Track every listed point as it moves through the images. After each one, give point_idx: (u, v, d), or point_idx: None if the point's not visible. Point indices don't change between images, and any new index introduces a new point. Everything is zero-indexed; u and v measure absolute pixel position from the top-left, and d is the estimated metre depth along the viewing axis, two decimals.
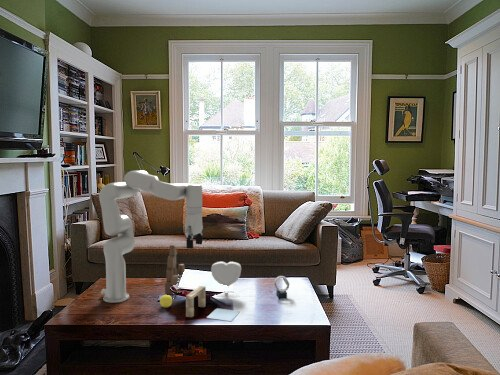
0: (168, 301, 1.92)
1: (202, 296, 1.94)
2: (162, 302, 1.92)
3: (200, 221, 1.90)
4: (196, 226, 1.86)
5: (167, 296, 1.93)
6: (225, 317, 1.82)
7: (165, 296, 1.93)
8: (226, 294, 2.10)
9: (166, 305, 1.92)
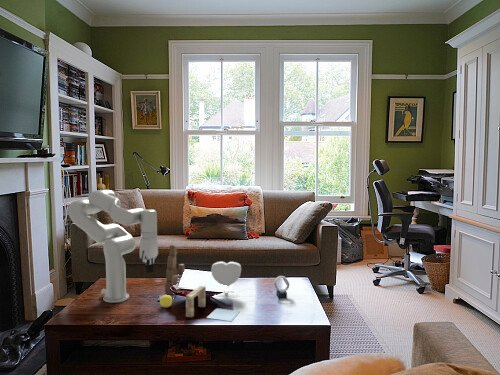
0: (168, 301, 1.92)
1: (202, 296, 1.94)
2: (162, 302, 1.92)
3: (155, 245, 1.96)
4: (150, 251, 1.92)
5: (167, 296, 1.93)
6: (225, 317, 1.82)
7: (165, 296, 1.93)
8: (226, 294, 2.10)
9: (166, 305, 1.92)
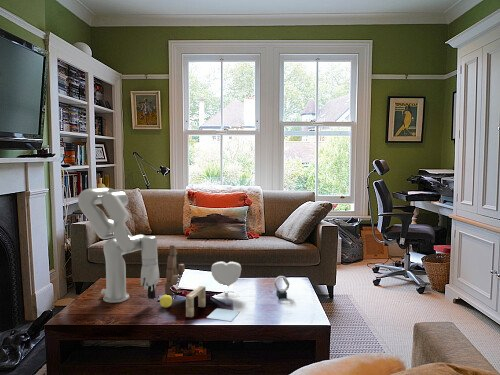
0: (168, 301, 1.92)
1: (202, 296, 1.94)
2: (162, 302, 1.92)
3: (156, 271, 1.97)
4: (152, 277, 1.93)
5: (167, 296, 1.93)
6: (225, 317, 1.82)
7: (165, 296, 1.93)
8: (226, 294, 2.10)
9: (166, 305, 1.92)
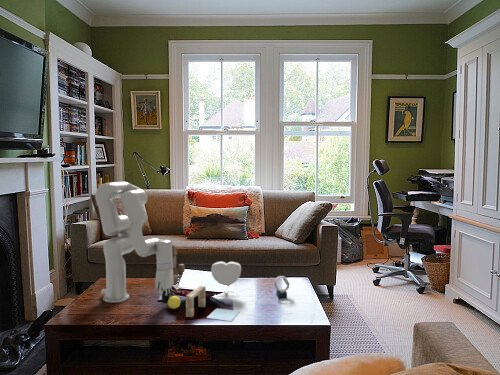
0: (174, 307, 1.91)
1: (202, 296, 1.94)
2: (171, 303, 1.90)
3: (171, 276, 1.94)
4: (166, 282, 1.91)
5: (178, 304, 1.91)
6: (225, 317, 1.82)
7: (177, 302, 1.91)
8: (226, 294, 2.10)
9: (170, 307, 1.91)
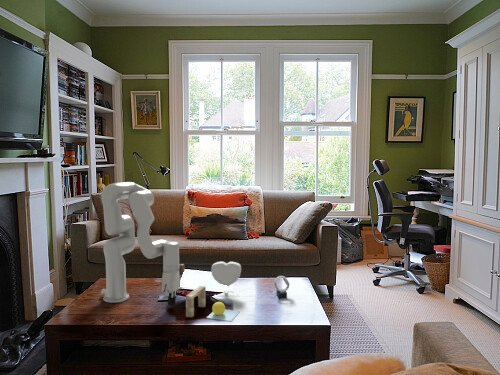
0: (213, 312, 1.84)
1: (202, 296, 1.94)
2: (216, 311, 1.82)
3: (177, 278, 1.93)
4: (173, 284, 1.90)
5: None
6: (225, 317, 1.82)
7: None
8: (226, 294, 2.10)
9: (213, 308, 1.84)
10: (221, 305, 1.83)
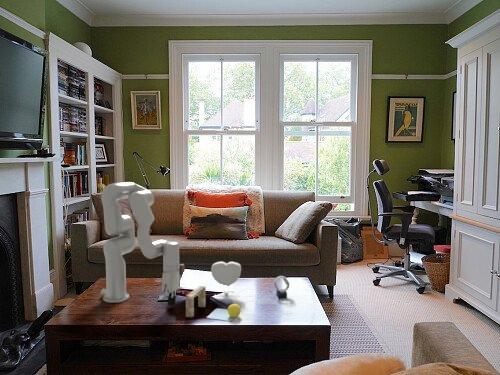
0: (234, 307, 1.80)
1: (202, 296, 1.94)
2: (231, 313, 1.80)
3: (177, 278, 1.93)
4: (173, 284, 1.90)
5: (230, 305, 1.82)
6: (225, 317, 1.82)
7: (229, 307, 1.82)
8: (226, 294, 2.10)
9: (236, 312, 1.80)
10: None
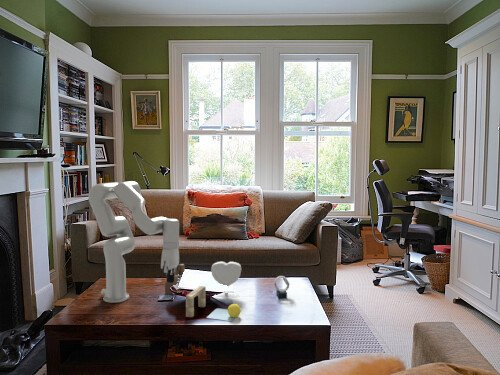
0: (234, 307, 1.80)
1: (202, 296, 1.94)
2: (231, 313, 1.80)
3: (176, 255, 1.93)
4: (172, 261, 1.89)
5: (230, 305, 1.82)
6: (225, 317, 1.82)
7: (229, 307, 1.82)
8: (226, 294, 2.10)
9: (236, 312, 1.80)
10: None
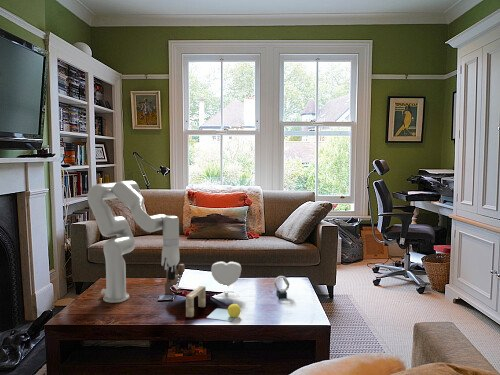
0: (234, 307, 1.80)
1: (202, 296, 1.94)
2: (231, 313, 1.80)
3: (177, 252, 1.92)
4: (173, 258, 1.89)
5: (230, 305, 1.82)
6: (225, 317, 1.82)
7: (229, 307, 1.82)
8: (226, 294, 2.10)
9: (236, 312, 1.80)
10: None
